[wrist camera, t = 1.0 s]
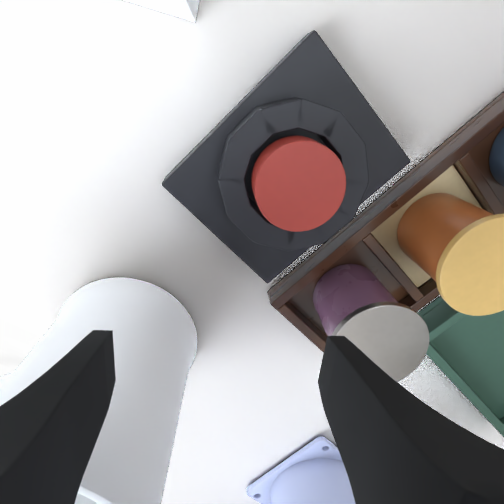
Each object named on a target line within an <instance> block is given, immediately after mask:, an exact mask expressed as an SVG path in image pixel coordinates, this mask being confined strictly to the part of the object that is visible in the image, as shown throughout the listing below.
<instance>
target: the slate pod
mask: <svg viewBox="0 0 504 504" xmlns="http://www.w3.org/2000/svg"><path fill="white" fill-rule="evenodd" d="M489 166H490V170H491V173H492V175H493V177H494V179H495V180H496V181H497V182H498V183H499V184H501V185H502V186H504V128H503V129H502V130H501V131H500V132H499V134H498V135H497V137H496V139H495V140H494V143H493V145H492V148H491V151H490V156H489Z"/></svg>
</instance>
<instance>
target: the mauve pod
mask: <svg viewBox="0 0 504 504" xmlns="http://www.w3.org/2000/svg"><path fill="white" fill-rule="evenodd" d="M313 304H314V307H315V309H316V312H317V314H318V316H319V318H320V321H321V323H322V325H323V327H324V330H325V332H326V334H327V336H345V337H346V338H348V339H349V340H350V341H351V342H352V343H353V344H354V345H355V346H357V347H358V348H359V349H360V350H361V351H362V352H363V353H364V354H365V355H366V356H367V357H369V358H370V359H371V360H372V361H373V362H374V363H375V364H376V365H377V366H379V367H380V368H381V369H382V370H383V371H384V372H385V373H387V374H388V375H389V376H390V377H391V378H393V379H394V380H395V381H396V382H398V381H400V380H402V379H403V378H405V377H406V376H408V375H409V374H410V373H412V372H413V371H414V370H415V369H416V368H417V367H418V366H419V364H420V363H421V362H422V360H423V359H424V357H425V355H426V353H427V350H428V346H429V331H428V327H427V325H426V323H425V321H424V320H423V319H422V317H421V316H420V315H419V314H418V313H417V312H416V311H415V310H414V309H412V308H411V307H409V306H407V305H404V304H401V303H398V302H397V301H396V299H395V298H394V297H393V296H392V295H391V293H390V292H389V291H388V290H387V289H386V287H385V286H384V285H383V284H382V283H381V281H380V280H379V279H378V278H377V277H376V275H375V274H374V273H373V272H372V271H371V270H369V269H368V268H366V267H364V266H361V265H357V264H345V265H340V266H337V267H335V268H333V269H331V270H329V271H328V272H327V273H325V274H324V275H323V276H322V277H321V278H320V279H319V281H318V282H317V284H316V286H315V289H314V292H313Z"/></svg>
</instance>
